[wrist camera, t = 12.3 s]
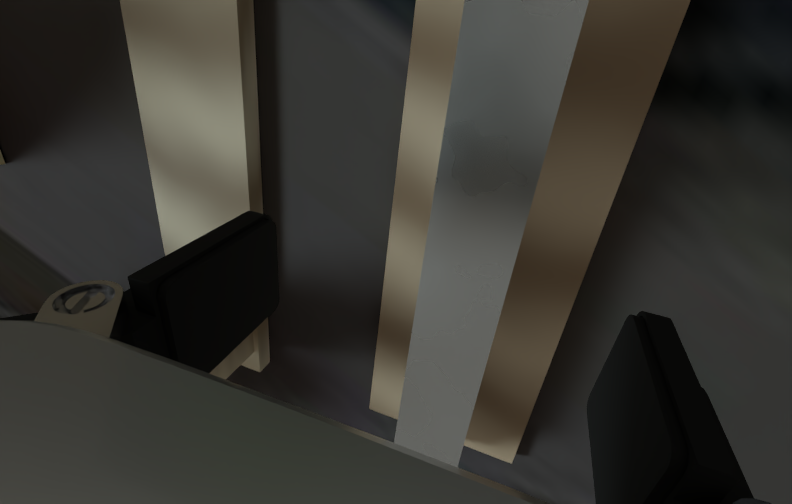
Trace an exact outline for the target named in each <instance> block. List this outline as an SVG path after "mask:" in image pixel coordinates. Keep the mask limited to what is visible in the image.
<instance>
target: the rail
mask: <svg viewBox="0 0 792 504" xmlns="http://www.w3.org/2000/svg"><path fill="white" fill-rule="evenodd" d="M588 2H589V0H465V1H464V7H463V13H462V20H461V26H460V32H459V38H458V45H457V51H456V57H455V64H454V70H453V76H452V82H451V89H450V95H449V101H448V108H447V114H446V120H445V126H444V133H443V139H442V145H441V151H440V158H439V164H438V170H437V177H436V183H435V189H434V195H433V202H432V208H431V214H430V220H429V227H428V233H427V239H426V246H425V252H424V258H423V264H422V271H421V277H420V283H419V289H418V296H417V302H416V308H415V315H414V321H413V327H412V333H411V340H410V346H409V352H408V358H407V365H406V371H405V377H404V384H403V390H402V396H401V402H400V409H399V415H398V421H397V428H396V434H395V440H394V443H395V444H398V445H400V446H403V447H406V448H408V449H411V450H413V451H416V452H419V453H421V454H424V455H426V456H429V457H432V458H434V459H437V460H439V461H442V462H445V463H447V464H450V465H452V466H455V467H458V463H459V459H460V456H461V452H462V449H463V445H464V442H465V438H466V435H467V431H468V428H469V424H470V420H471V417H472V413H473V410H474V406H475V403H476V399H477V396H478V392H479V389H480V385H481V381H482V378H483V374H484V371H485V367H486V364H487V360H488V357H489V353H490V350H491V346H492V342H493V339H494V335H495V332H496V328H497V325H498V321H499V318H500V314H501V311H502V307H503V303H504V300H505V296H506V293H507V289H508V286H509V282H510V279H511V275H512V272H513V268H514V264H515V261H516V257H517V254H518V250H519V247H520V243H521V240H522V236H523V233H524V229H525V225H526V222H527V218H528V215H529V211H530V208H531V204H532V201H533V197H534V194H535V190H536V186H537V183H538V179H539V176H540V172H541V169H542V165H543V162H544V158H545V155H546V151H547V147H548V144H549V140H550V137H551V133H552V130H553V126H554V123H555V119H556V116H557V112H558V108H559V105H560V101H561V98H562V94H563V91H564V87H565V84H566V80H567V77H568V73H569V69H570V66H571V62H572V59H573V55H574V52H575V48H576V45H577V41H578V38H579V34H580V30H581V27H582V23H583V20H584V16H585V13H586V9H587V6H588Z"/></svg>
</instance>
